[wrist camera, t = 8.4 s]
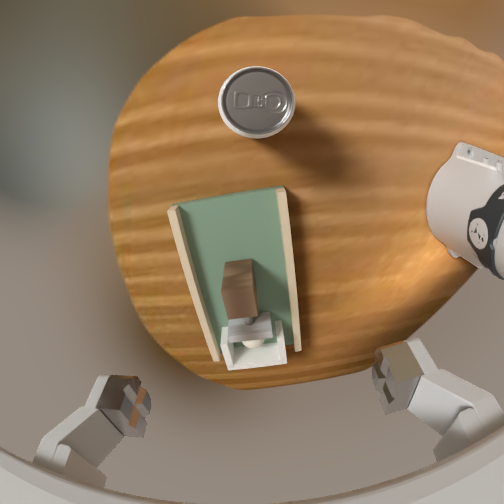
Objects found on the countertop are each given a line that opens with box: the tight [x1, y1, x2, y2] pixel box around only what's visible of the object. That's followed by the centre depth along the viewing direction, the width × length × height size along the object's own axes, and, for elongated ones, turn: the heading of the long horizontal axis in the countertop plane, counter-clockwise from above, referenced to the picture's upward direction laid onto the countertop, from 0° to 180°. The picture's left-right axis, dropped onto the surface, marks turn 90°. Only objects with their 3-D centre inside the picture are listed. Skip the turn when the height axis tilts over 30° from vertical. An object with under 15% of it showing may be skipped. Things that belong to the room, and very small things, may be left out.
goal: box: [220, 320, 287, 370], centre depth 42 cm, size 9×6×4 cm, turn 99°
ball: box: [242, 339, 264, 349], centre depth 41 cm, size 4×4×4 cm
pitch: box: [167, 186, 301, 361], centre depth 39 cm, size 14×25×3 cm, turn 9°
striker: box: [221, 258, 273, 343], centre depth 37 cm, size 6×10×7 cm, turn 9°
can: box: [218, 66, 295, 138], centre depth 25 cm, size 6×6×12 cm
